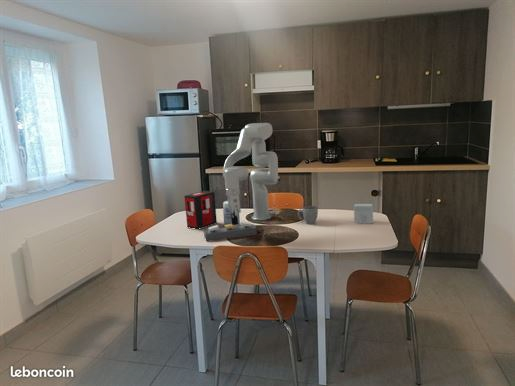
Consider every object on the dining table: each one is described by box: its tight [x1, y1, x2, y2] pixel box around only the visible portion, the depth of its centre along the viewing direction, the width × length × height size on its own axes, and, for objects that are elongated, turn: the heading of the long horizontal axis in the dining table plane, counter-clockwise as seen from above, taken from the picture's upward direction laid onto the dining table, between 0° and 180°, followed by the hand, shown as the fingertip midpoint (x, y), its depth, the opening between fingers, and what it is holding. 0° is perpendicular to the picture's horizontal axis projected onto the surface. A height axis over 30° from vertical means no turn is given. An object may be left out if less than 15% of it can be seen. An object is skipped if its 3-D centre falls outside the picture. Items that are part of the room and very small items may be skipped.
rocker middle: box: [224, 224, 235, 229], centre depth 212 cm, size 5×4×1 cm
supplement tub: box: [222, 200, 241, 227], centre depth 232 cm, size 10×10×15 cm
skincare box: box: [353, 203, 374, 225], centre depth 225 cm, size 10×6×10 cm, turn 76°
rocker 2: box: [240, 221, 252, 226], centre depth 214 cm, size 5×4×1 cm
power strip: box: [203, 223, 265, 242], centre depth 213 cm, size 33×8×5 cm, turn 105°
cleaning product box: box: [184, 190, 218, 230], centre depth 236 cm, size 16×9×20 cm, turn 143°
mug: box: [297, 205, 319, 226], centre depth 229 cm, size 12×9×10 cm
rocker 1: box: [207, 224, 220, 231], centre depth 210 cm, size 5×4×1 cm
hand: (234, 224), depth 212 cm, fingers closed
